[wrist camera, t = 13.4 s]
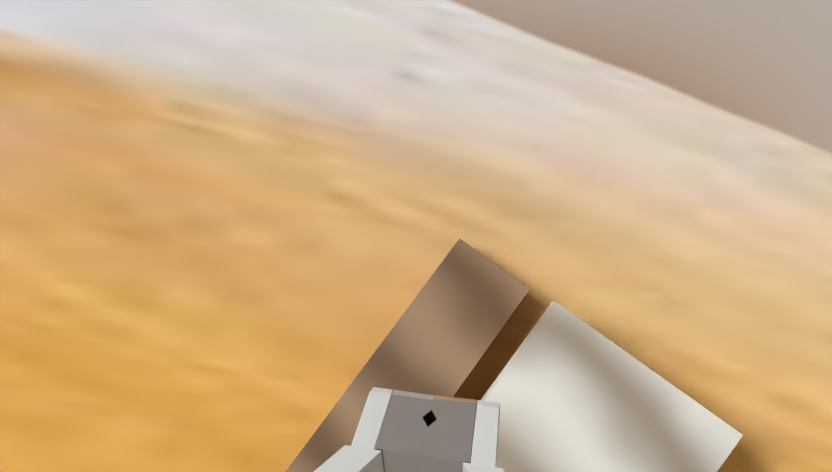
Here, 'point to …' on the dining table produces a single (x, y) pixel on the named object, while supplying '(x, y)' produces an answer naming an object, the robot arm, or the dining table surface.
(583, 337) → the ash plank
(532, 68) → the dining table surface
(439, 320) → the walnut boards
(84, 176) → the dining table surface
